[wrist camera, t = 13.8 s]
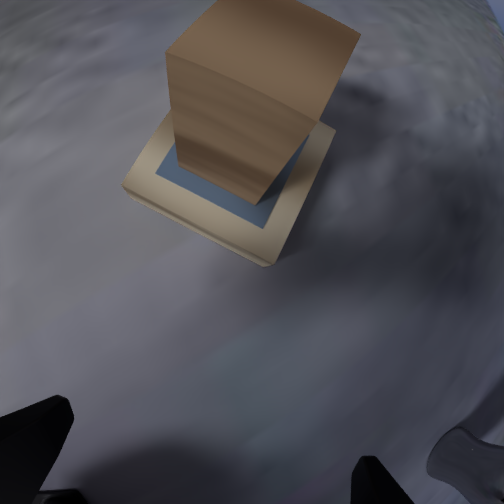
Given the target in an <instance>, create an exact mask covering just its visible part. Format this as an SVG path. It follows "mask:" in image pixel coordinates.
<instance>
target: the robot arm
mask: <svg viewBox="0 0 504 504" xmlns="http://www.w3.org/2000/svg"><path fill="white" fill-rule="evenodd" d="M73 421H74V414H73V411H72V408H71V405H70V402H69V400H68V399H67V398H65V397H63V396H60V395H54V396H52V397H50V398H47V399H45V400H42V401H40V402H37V403H35V404H33V405H30V406H28V407H25V408H23V409H20V410H18V411H15V412H12V413H10V414H7V415H5V416H2V417H0V504H88V503H87V502H86V500H85V499H84V498H83V496H82V495H81V494H80V493H79V492H78V491H76V490H67V491H54V492H38V491H39V490H40V488H41V486H42V484H43V482H44V481H45V479H46V477H47V475H48V473H49V472H50V470H51V468H52V466H53V465H54V463H55V461H56V459H57V457H58V456H59V454H60V451H61V449H62V447H63V444H64V442H65V440H66V438H67V435H68V433H69V431H70V428H71V426H72V424H73ZM75 495H76V496H75ZM350 504H414V502H413V501H412V500H411V499H410V498H409V496H408V495H407V494H406V493H405V492H404V490H403V489H402V488H401V487H400V485H399V484H398V483H397V482H396V481H395V479H394V478H393V477H392V476H391V474H390V473H389V472H388V471H387V470H386V468H385V467H384V466H383V465H382V463H381V462H380V461H379V460H378V458H377V457H375V456H362V457H361V458H360V459H359V461H358V463H357V464H356V466H355V468H354V470H353V472H352V477H351V502H350Z"/></svg>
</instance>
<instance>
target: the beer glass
mask: <svg viewBox="0 0 504 504" xmlns="http://www.w3.org/2000/svg"><path fill="white" fill-rule="evenodd" d="M427 473H428V475H429V476H430V477H432V478H434V479H437V480H439V481H442V482H445V483H447V484H449V485H451V486H453V487H454V488H455V489H457V490H458V491H459V492H460V493H461V494H462V495H463V496H464V497H465V499H466V500H467V501H468V502H469V503H470V504H504V446H501V445H496V444H491V443H488V442H485V441H482V440H481V439H479V438H477V437H476V436H475V435H473V434H472V433H471V432H470V431H468V430H467V429H465V428H463V427H458V428H455V429H453V430H451V431H449V432H448V433H447V434H446V435H444V436H443V437H442V438H441V439H440V441H439V442H438V443H437V444H436V446H435V447H434V449H433V450H432V452H431V454H430V456H429V459H428V462H427Z"/></svg>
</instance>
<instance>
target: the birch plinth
mask: <svg viewBox="0 0 504 504" xmlns="http://www.w3.org/2000/svg"><path fill="white" fill-rule="evenodd" d="M335 133H336V130H334V129H333V128H331V127H329V126H328V125H326V124H324V123H322V122H321V121H318V123H317V124H316V125H315V127H314V128H313V129H312V130H311V132H310V133H309V134H308V136H307V137H306V138H305V140H304V141H303V142H302V144H301V145H300V146H299V148H298V149H297V150H296V151H295V153H294V154H293V155H292V157H291V158H290V159H289V161H288V162H287V163H286V165H285V166H284V167H283V169H282V170H281V171H280V173H279V174H278V175H277V177H276V178H275V179H274V181H273V182H272V183H271V185H270V186H269V187H268V189H267V190H266V191H265V193H264V194H263V195H262V197H261V198H260V200H259V201H258V202H257V204H256V205H253V204H251V203H249V202H247V201H245V200H243V199H242V198H240V197H238V196H236V195H234V194H232V193H230V192H228V191H226V190H224V189H222V188H220V187H218V186H216V185H215V184H213V183H211V182H209V181H207V180H205V179H203V178H201V177H199V176H197V175H195V174H193V173H191V172H189V171H187V170H185V169H183V168H181V167H179V166H178V160H177V153H176V145H175V138H174V130H173V122H172V114H171V110H170V111H169V113H168V114H167V115H166V117H165V118H164V120H163V121H162V122H161V124H160V125H159V127H158V128H157V130H156V131H155V133H154V134H153V135H152V137H151V138H150V140H149V141H148V143H147V144H146V146H145V147H144V149H143V151H142V152H141V154H140V155H139V157H138V158H137V160H136V161H135V163H134V165H133V166H132V168H131V169H130V171H129V173H128V174H127V176H126V178H125V179H124V181H123V183H122V184H121V185H122V187H123V188H124V190H125V191H126V192H127V194H128V195H129V196H130V198H131V199H133V200H135V201H137V202H139V203H141V204H143V205H145V206H147V207H148V208H150V209H152V210H154V211H156V212H158V213H160V214H162V215H164V216H166V217H168V218H169V219H171V220H173V221H175V222H177V223H179V224H181V225H183V226H185V227H187V228H189V229H191V230H192V231H194V232H196V233H198V234H200V235H202V236H204V237H206V238H208V239H210V240H212V241H214V242H216V243H217V244H219V245H221V246H223V247H225V248H227V249H229V250H231V251H233V252H235V253H237V254H239V255H241V256H243V257H244V258H246V259H248V260H250V261H252V262H254V263H256V264H258V265H260V266H262V267H267V266H271V265H274V264H275V262H276V260H277V258H278V256H279V254H280V252H281V250H282V248H283V245H284V243H285V241H286V239H287V237H288V235H289V233H290V231H291V229H292V226H293V224H294V222H295V220H296V218H297V216H298V214H299V212H300V209H301V207H302V205H303V203H304V201H305V199H306V197H307V194H308V192H309V190H310V188H311V186H312V184H313V181H314V179H315V177H316V175H317V173H318V171H319V168H320V166H321V164H322V162H323V160H324V157H325V155H326V153H327V151H328V149H329V146H330V144H331V142H332V140H333V137H334V135H335Z"/></svg>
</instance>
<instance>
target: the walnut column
mask: <svg viewBox="0 0 504 504" xmlns="http://www.w3.org/2000/svg"><path fill="white" fill-rule="evenodd" d="M360 36H361V34H360V33H358V32H356V31H355V30H353V29H351V28H349V27H348V26H346V25H344V24H342V23H340V22H338V21H337V20H335V19H333V18H331V17H329V16H327V15H325V14H323V13H321V12H319V11H317V10H315V9H313V8H311V7H309V6H307V5H304V4H302V3H300V2H298V1H296V0H218V1H216V2H215V3H214V4H213V5H212V6H211V7H210V8H209V9H208V10H207V11H205V12H204V13H203V14H202V15H201V16H200V17H199V18H198V19H197V20H196V21H195V22H194V23H193V24H192V25H191V26H190V27H189V28H188V29H187V30H186V31H185V32H184V33H183V34H182V35H181V36H180V37H179V38H178V39H177V40H176V41H175V42H174V43H173V44H172V45H171V46H170V47H169V49H168V50H167V51H166V52H165V55H166V66H167V77H168V87H169V96H170V105H171V114H172V122H173V130H174V138H175V145H176V153H177V160H178V166H179V167H181V168H183V169H185V170H187V171H189V172H191V173H193V174H195V175H197V176H199V177H201V178H203V179H205V180H207V181H209V182H211V183H213V184H215V185H216V186H218V187H220V188H222V189H224V190H226V191H228V192H230V193H232V194H234V195H236V196H238V197H240V198H242V199H243V200H245V201H247V202H249V203H251V204H253V205H256V204H257V202H258V201H259V200H260V198H261V197H262V195H263V194H264V193H265V191H266V190H267V189H268V187H269V186H270V185H271V183H272V182H273V181H274V179H275V178H276V177H277V175H278V174H279V173H280V171H281V170H282V169H283V167H284V166H285V165H286V163H287V162H288V161H289V159H290V158H291V157H292V155H293V154H294V153H295V151H296V150H297V149H298V148H299V146H300V145H301V144H302V142H303V141H304V140H305V138H306V137H307V136H308V134H309V133H310V132H311V130H312V129H313V128H314V127H315V125H316V124H317V123H318V121H319V119H320V117H321V115H322V113H323V111H324V109H325V107H326V105H327V103H328V101H329V99H330V96H331V94H332V92H333V90H334V88H335V86H336V84H337V82H338V80H339V78H340V76H341V74H342V72H343V70H344V68H345V66H346V64H347V62H348V60H349V58H350V56H351V54H352V52H353V50H354V48H355V46H356V44H357V42H358V40H359V38H360Z"/></svg>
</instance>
